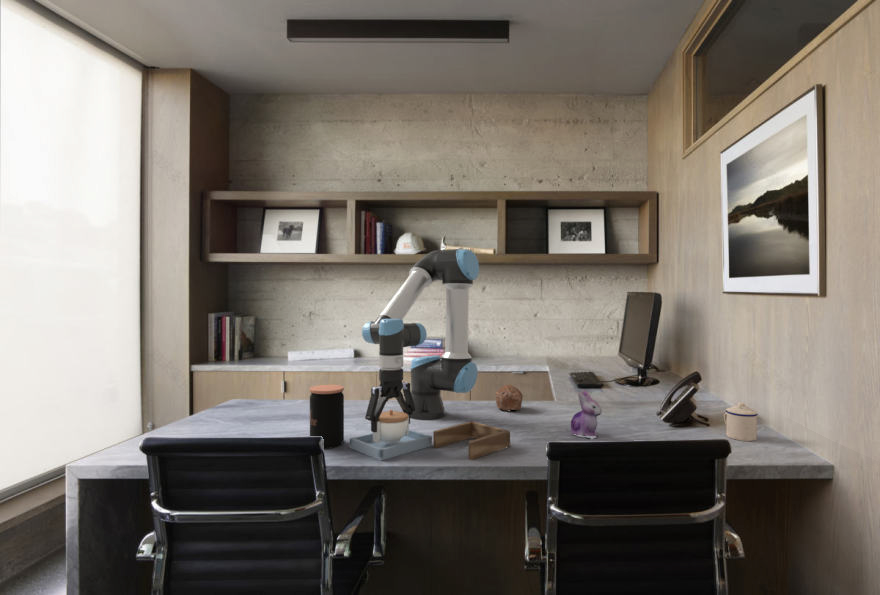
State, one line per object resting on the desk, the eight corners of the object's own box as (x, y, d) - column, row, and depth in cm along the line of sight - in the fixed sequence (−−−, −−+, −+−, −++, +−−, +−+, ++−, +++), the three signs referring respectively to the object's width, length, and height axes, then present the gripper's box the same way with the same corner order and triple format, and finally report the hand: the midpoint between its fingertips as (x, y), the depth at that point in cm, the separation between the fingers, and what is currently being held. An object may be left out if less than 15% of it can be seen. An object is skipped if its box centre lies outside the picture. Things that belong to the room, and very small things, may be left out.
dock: (433, 447, 156) (433, 431, 156) (471, 435, 168) (471, 421, 168) (472, 459, 144) (472, 442, 144) (510, 446, 156) (510, 431, 156)
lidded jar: (379, 446, 149) (379, 415, 149) (369, 437, 159) (369, 407, 159) (413, 442, 153) (413, 412, 153) (401, 433, 163) (401, 404, 163)
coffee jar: (312, 439, 164) (312, 384, 164) (345, 438, 165) (345, 384, 165) (306, 449, 153) (306, 391, 153) (341, 448, 154) (341, 390, 154)
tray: (349, 447, 155) (349, 438, 155) (399, 435, 169) (399, 426, 169) (380, 460, 143) (380, 450, 143) (431, 445, 157) (431, 436, 157)
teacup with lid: (764, 440, 163) (764, 405, 163) (739, 442, 161) (740, 406, 161) (736, 430, 175) (736, 397, 175) (713, 432, 173) (713, 398, 173)
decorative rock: (495, 405, 213) (495, 382, 213) (522, 406, 212) (522, 382, 211) (494, 412, 200) (495, 388, 200) (523, 413, 199) (523, 388, 198)
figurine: (601, 440, 163) (601, 395, 163) (569, 437, 167) (569, 392, 166) (602, 433, 172) (602, 389, 172) (572, 430, 175) (572, 387, 175)
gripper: (367, 373, 145) (367, 449, 145) (426, 365, 161) (426, 433, 161) (353, 370, 151) (353, 443, 151) (411, 363, 167) (411, 428, 167)
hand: (391, 438), depth 156 cm, fingers closed on lidded jar, 11 cm apart
